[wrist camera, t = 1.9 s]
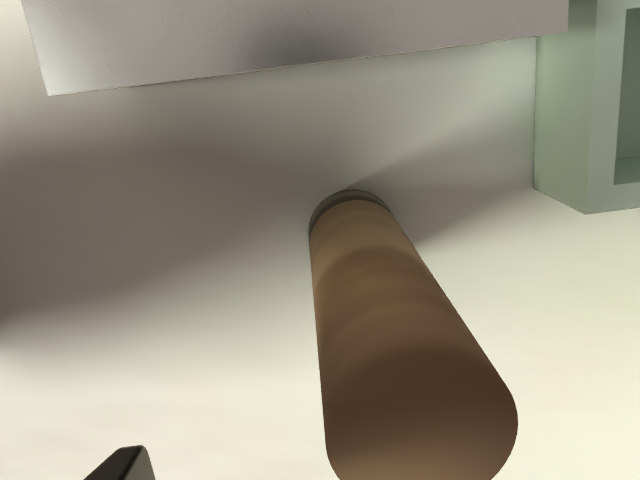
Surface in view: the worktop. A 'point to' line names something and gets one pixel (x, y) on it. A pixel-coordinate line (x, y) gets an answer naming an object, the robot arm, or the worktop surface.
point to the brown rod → (398, 357)
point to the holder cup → (590, 108)
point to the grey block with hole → (256, 34)
